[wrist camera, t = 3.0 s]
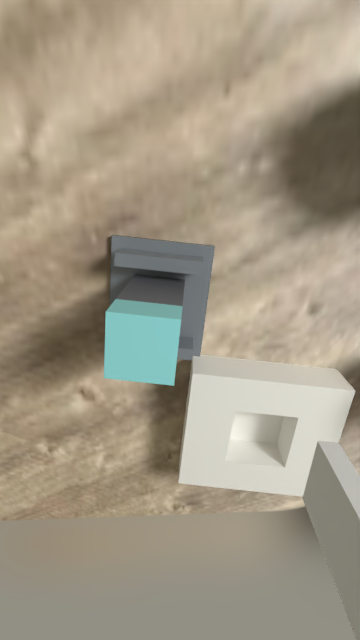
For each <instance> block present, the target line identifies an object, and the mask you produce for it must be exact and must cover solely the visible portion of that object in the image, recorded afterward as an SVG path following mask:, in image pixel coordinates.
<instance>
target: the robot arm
mask: <svg viewBox="0 0 360 640" xmlns="http://www.w3.org/2000/svg"><path fill="white" fill-rule="evenodd" d="M303 501H304V503H305V506H306V508H307V511H308V514H309V516H310V519H311V522H312V524H313V527H314V530H315V532H316V535H317V537H318V540H319V543H320V545H321V548H322V551H323V553H324V556H325V559H326V561H327V564H328V567H329V569H330V572H331V575H332V577H333V580H334V583H335V585H336V587H337V590H338V593H339V596H340V598H341V600H342V604H343V606H344V609H345V612H346V614H347V617H348V620H349V622H350V625H351V627H352V630H353V633H354V635H355V638H356V640H360V476H359V475H358V473H357V471H356V470H355V468H354V466H353V465H352V463H351V462H350V460H349V458H348V457H347V455H346V454H345V452H344V450H343V449H342V447H341V445H340V444H339V443H338V442H327V441H318V442H317V446H316V449H315V453H314V457H313V461H312V464H311V468H310V472H309V476H308V479H307V483H306V487H305V491H304V494H303Z"/></svg>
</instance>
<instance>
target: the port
mask: <svg viewBox="0 0 360 640" xmlns="http://www.w3.org/2000/svg"><path fill="white" fill-rule="evenodd" d="M354 394H355V390H354V389H353V387H352V386H351V385H350V384H349V383H348V382H347V380H346V379H345V378H344V377H343V376H342V375H341V373H340V372H339V371H338V370H337V369H333V368H324V367H314V366H305V365H296V364H286V363H277V362H268V361H259V360H249V359H240V358H231V357H222V356H212V355H203V354H200V357H199V356H193V357H192V363H191V371H190V379H189V387H188V394H187V402H186V410H185V418H184V426H183V434H182V442H181V450H180V462H179V482H178V483H182V484H191V485H200V486H210V487H219V488H228V489H237V490H247V491H256V492H265V493H275V494H284V495H293V496H302V497H303V494H304V491H305V487H306V483H307V479H308V476H309V472H310V468H311V464H312V461H313V457H314V453H315V449H316V446H317V442H318V441H327V442H338V443H339V440H340V437H341V434H342V431H343V428H344V425H345V422H346V419H347V416H348V413H349V409H350V406H351V403H352V400H353V397H354Z"/></svg>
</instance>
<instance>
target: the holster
mask: <svg viewBox="0 0 360 640" xmlns="http://www.w3.org/2000/svg"><path fill="white" fill-rule="evenodd" d="M214 248H215V246H211V245H202V244H193V243H183V242H174V241H165V240H156V239H146V238H137V237H128V236H119V235H112V243H111V277H110V306H111V304H112V303H113V302H114V300H115V299H116V298H117V297H118V295H119V294H120V293H121V292H122V290H123V289H124V288H125V287H126V285H127V284H128V283H129V282H130V280H131V279H132V278H133V276H134V275H135V274H141V275H150V276H159V277H169V278H178V279H185V286H184V296H183V307H182V317H181V327H180V336H179V345H178V354H177V359H183V360H192V357H193V356H199V357H200V352H201V344H202V337H203V329H204V322H205V315H206V307H207V300H208V293H209V285H210V278H211V270H212V263H213V256H214Z"/></svg>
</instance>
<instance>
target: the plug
mask: <svg viewBox="0 0 360 640" xmlns="http://www.w3.org/2000/svg"><path fill="white" fill-rule="evenodd" d="M184 286H185V279H178V278H169V277H159V276H150V275H141V274H135V275H134V276H133V278H132V279H131V280H130V282H129V283H128V284H127V285H126V287H125V288H124V289H123V290H122V292H121V293H120V294H119V295H118V297H117V298H116V299H115V300H114V302H113V303H112V304H111V306H110V307H109V308H108V309H107V311H106V318H105V358H104V378H108V379H117V380H126V381H135V382H145V383H154V384H163V385H173V386H174V381H175V372H176V363H177V354H178V345H179V336H180V327H181V317H182V307H183V296H184Z"/></svg>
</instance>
